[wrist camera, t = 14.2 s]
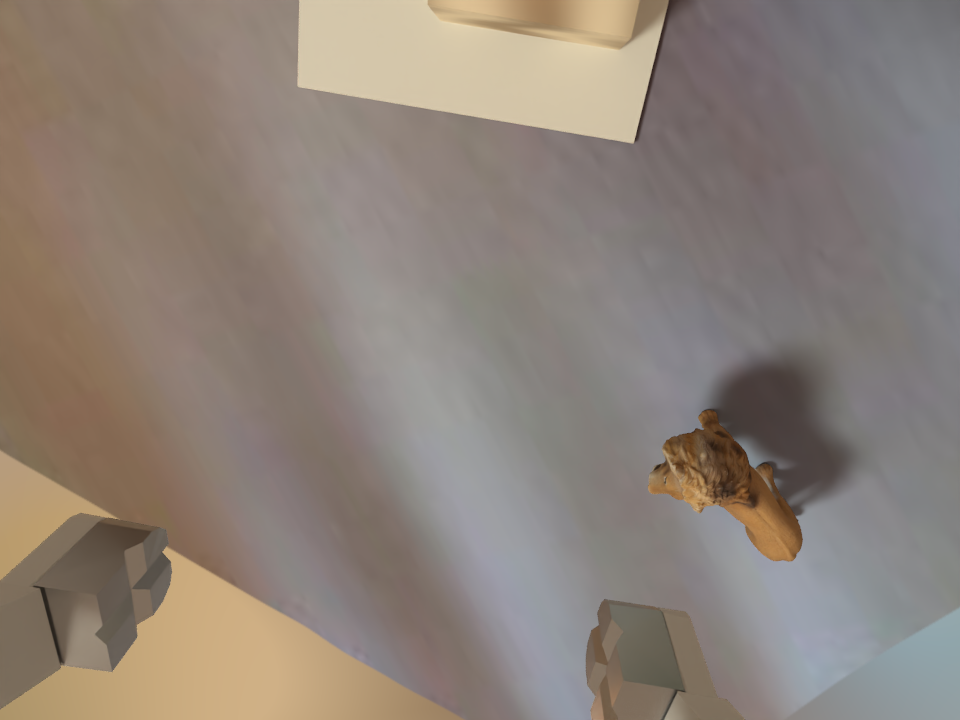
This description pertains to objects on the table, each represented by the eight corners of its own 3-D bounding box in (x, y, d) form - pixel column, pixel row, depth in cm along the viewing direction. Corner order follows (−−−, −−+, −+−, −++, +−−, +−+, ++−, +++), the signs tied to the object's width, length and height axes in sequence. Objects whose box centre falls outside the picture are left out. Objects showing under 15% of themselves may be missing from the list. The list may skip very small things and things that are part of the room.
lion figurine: (619, 428, 39) (642, 506, 31) (673, 375, 37) (713, 443, 29) (766, 536, 41) (824, 636, 33) (823, 491, 39) (901, 586, 31)
